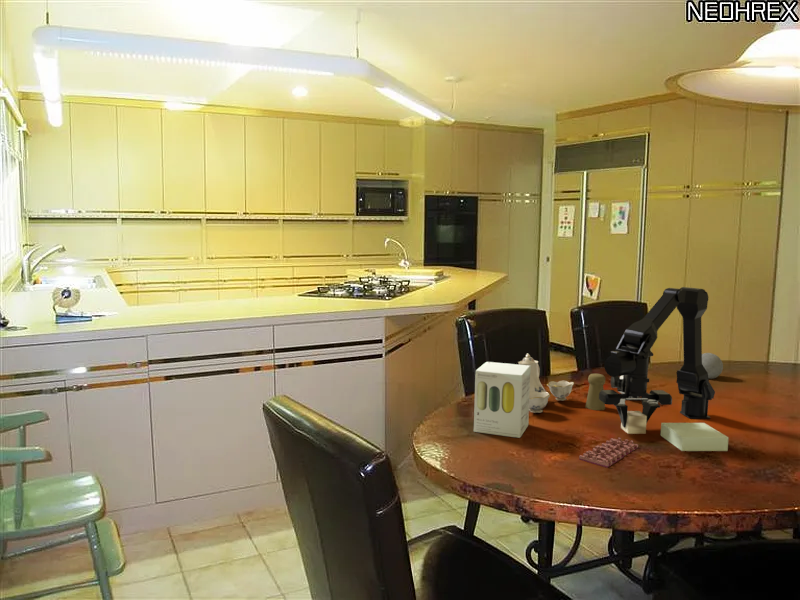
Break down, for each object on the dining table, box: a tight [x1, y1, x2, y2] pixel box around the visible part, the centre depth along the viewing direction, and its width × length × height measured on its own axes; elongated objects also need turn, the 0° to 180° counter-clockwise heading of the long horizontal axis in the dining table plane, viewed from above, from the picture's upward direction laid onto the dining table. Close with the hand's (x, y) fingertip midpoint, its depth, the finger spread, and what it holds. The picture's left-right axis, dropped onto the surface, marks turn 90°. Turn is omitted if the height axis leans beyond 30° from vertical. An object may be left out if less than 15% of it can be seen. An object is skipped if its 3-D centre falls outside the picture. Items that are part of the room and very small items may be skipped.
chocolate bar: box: [578, 437, 639, 469], centre depth 158 cm, size 7×19×2 cm, turn 137°
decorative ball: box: [702, 352, 724, 380], centre depth 239 cm, size 10×10×10 cm
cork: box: [584, 373, 606, 411], centre depth 197 cm, size 6×6×11 cm
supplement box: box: [473, 361, 531, 439], centre depth 175 cm, size 13×13×18 cm
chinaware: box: [517, 353, 575, 414], centre depth 198 cm, size 28×17×17 cm, turn 146°
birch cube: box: [620, 410, 647, 435], centre depth 176 cm, size 5×5×5 cm
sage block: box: [660, 422, 729, 452], centre depth 166 cm, size 12×12×4 cm
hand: (633, 427), depth 176 cm, fingers closed on birch cube, 5 cm apart
